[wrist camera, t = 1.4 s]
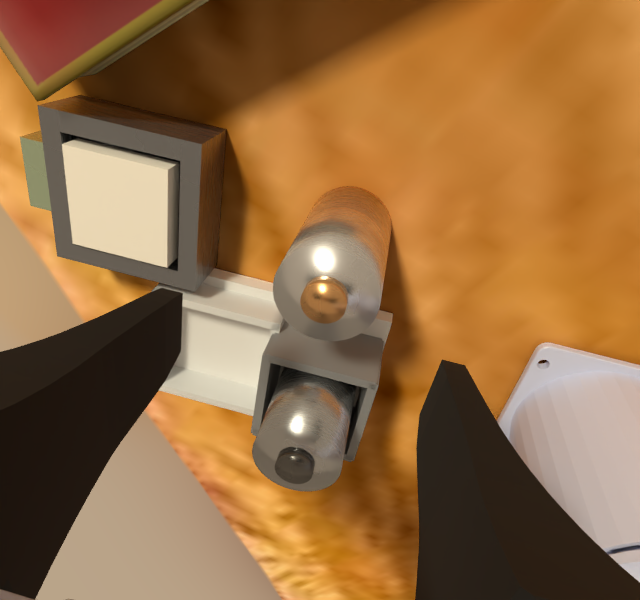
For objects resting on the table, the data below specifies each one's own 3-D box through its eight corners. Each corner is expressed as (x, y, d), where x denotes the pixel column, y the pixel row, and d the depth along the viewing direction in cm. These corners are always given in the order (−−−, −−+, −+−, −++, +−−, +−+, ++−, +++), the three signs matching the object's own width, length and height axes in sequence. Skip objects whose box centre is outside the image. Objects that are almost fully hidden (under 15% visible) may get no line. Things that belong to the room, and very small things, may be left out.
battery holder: (360, 417, 26) (350, 476, 23) (173, 366, 27) (137, 417, 24) (393, 313, 23) (387, 366, 19) (175, 258, 23) (133, 300, 20)
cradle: (216, 264, 23) (195, 291, 21) (60, 225, 24) (23, 247, 21) (226, 129, 20) (201, 144, 18) (43, 86, 20) (-3, 96, 18)
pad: (177, 257, 21) (167, 267, 20) (86, 234, 21) (72, 243, 20) (179, 162, 19) (167, 169, 18) (78, 138, 19) (61, 144, 18)
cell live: (380, 272, 22) (365, 360, 16) (303, 253, 22) (262, 334, 17) (401, 197, 20) (392, 269, 14) (316, 177, 20) (276, 240, 15)
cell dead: (350, 401, 25) (330, 511, 19) (283, 383, 25) (244, 487, 20) (366, 347, 23) (348, 452, 18) (293, 328, 23) (253, 426, 18)
